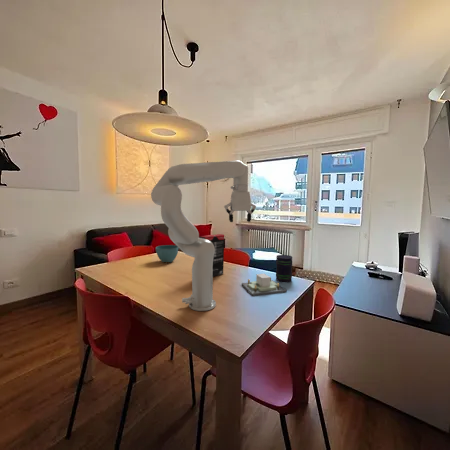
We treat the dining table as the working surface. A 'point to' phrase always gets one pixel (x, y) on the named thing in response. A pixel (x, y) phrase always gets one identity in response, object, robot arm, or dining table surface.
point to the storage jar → (284, 268)
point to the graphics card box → (217, 252)
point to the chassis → (257, 292)
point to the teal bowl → (167, 252)
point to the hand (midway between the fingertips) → (240, 221)
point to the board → (272, 286)
